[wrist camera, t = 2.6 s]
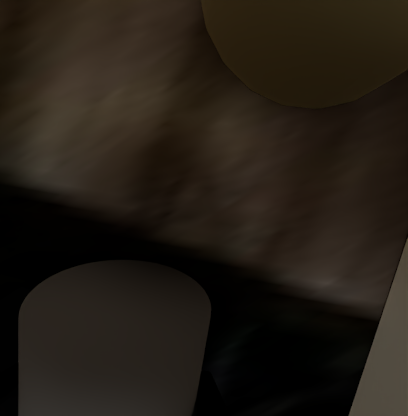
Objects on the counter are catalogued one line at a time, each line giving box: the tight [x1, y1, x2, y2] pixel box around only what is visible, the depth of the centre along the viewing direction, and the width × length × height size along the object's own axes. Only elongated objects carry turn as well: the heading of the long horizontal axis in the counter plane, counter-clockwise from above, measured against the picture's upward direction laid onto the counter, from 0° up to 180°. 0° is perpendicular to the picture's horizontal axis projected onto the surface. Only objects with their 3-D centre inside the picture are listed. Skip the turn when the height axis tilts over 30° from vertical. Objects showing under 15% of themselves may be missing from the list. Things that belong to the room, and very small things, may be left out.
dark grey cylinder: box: [18, 260, 211, 416], centre depth 7 cm, size 6×4×4 cm, turn 171°
